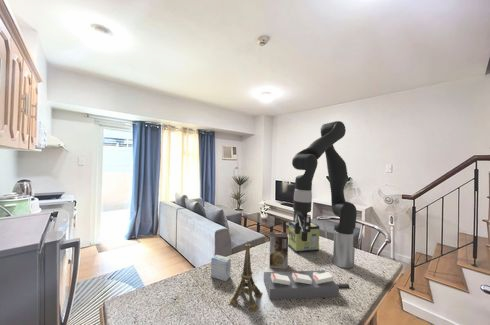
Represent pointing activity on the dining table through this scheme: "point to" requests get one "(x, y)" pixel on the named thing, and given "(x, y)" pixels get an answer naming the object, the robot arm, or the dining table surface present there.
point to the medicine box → (220, 267)
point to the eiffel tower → (247, 283)
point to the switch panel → (300, 287)
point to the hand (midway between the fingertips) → (300, 237)
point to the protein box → (304, 246)
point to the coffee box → (278, 250)
